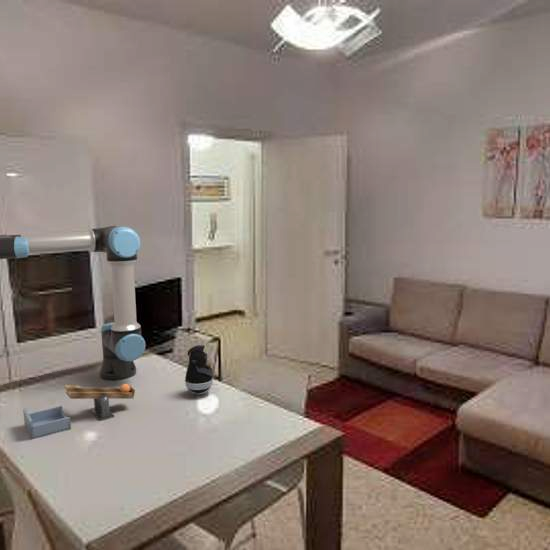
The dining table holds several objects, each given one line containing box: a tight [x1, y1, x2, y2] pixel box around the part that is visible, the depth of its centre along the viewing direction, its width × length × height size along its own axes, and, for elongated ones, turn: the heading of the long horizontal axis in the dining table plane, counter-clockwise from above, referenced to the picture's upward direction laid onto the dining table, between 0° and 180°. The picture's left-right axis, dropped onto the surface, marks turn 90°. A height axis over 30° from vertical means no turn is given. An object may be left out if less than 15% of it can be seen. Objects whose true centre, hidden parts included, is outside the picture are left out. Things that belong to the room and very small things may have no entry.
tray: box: [22, 405, 72, 440], centre depth 165 cm, size 12×12×6 cm
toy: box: [184, 344, 214, 395], centre depth 191 cm, size 11×11×20 cm
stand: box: [89, 386, 115, 422], centre depth 175 cm, size 5×11×8 cm, turn 36°
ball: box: [119, 383, 131, 393], centre depth 180 cm, size 4×4×4 cm
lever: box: [64, 384, 136, 400], centre depth 178 cm, size 22×13×3 cm, turn 126°
